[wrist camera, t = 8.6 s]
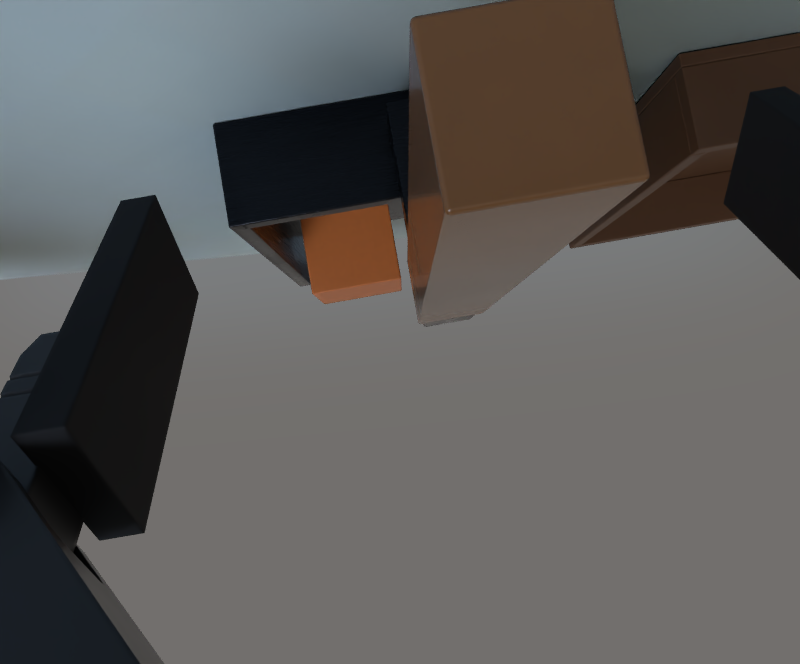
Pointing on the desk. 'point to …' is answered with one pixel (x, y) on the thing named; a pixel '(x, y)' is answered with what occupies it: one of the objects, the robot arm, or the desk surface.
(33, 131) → the desk surface
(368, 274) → the block
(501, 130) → the pan
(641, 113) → the tray
